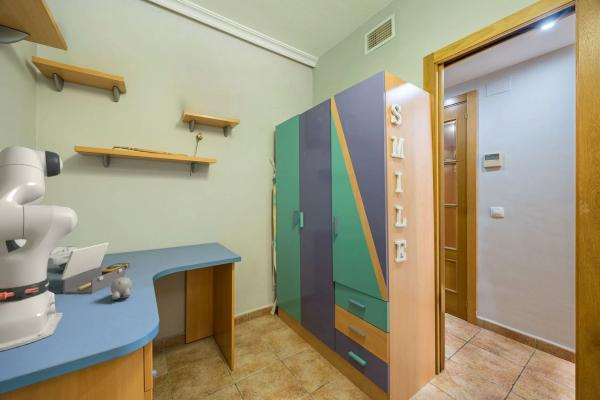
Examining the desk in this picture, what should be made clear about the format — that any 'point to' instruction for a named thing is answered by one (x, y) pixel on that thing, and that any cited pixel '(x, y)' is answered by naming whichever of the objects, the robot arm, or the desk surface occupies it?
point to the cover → (84, 260)
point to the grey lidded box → (91, 281)
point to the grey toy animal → (121, 288)
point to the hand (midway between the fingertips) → (86, 256)
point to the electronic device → (114, 267)
